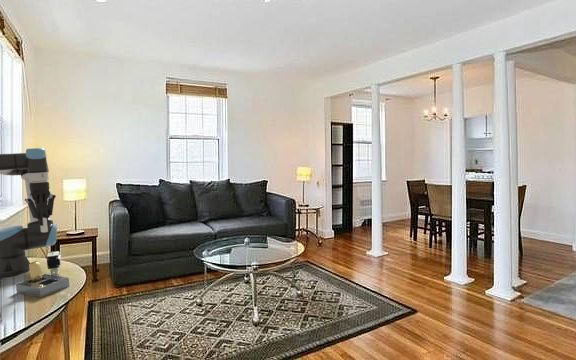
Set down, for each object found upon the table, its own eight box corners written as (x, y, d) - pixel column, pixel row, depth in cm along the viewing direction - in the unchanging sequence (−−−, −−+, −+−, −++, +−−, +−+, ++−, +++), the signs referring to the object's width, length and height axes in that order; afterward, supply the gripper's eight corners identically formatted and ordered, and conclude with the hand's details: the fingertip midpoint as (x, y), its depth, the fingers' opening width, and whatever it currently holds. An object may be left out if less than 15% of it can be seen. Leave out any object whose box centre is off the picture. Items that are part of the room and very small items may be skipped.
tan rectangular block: (30, 289, 162) (26, 263, 161) (39, 286, 166) (35, 261, 164) (36, 290, 161) (32, 264, 159) (45, 287, 164) (41, 261, 163)
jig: (16, 293, 159) (15, 284, 158) (46, 282, 171) (45, 274, 170) (40, 297, 153) (39, 288, 152) (69, 286, 165) (68, 277, 164)
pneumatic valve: (48, 279, 174) (45, 255, 173) (50, 272, 184) (48, 249, 183) (61, 277, 177) (59, 253, 175) (63, 270, 187) (61, 247, 186)
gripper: (29, 183, 158) (35, 235, 161) (58, 180, 170) (63, 229, 173) (18, 183, 161) (24, 234, 163) (47, 180, 173) (52, 228, 175)
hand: (44, 231), depth 168 cm, fingers closed
